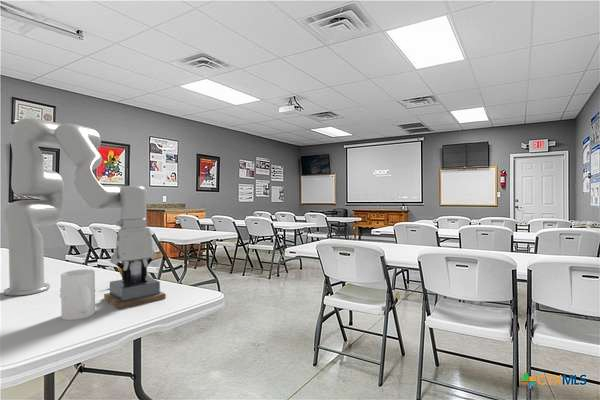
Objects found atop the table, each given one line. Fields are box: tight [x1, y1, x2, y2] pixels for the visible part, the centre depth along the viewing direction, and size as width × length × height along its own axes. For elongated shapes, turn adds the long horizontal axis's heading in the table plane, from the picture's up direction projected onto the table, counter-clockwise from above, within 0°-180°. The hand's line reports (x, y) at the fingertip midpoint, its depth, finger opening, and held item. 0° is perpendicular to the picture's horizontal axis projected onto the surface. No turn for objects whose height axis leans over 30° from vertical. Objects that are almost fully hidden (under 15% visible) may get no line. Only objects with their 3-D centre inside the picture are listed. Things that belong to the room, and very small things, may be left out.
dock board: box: [103, 290, 167, 310], centre depth 112 cm, size 14×14×2 cm
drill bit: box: [116, 267, 122, 277], centre depth 129 cm, size 5×5×10 cm
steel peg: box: [127, 259, 142, 285], centre depth 111 cm, size 4×4×9 cm
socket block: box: [109, 276, 161, 302], centre depth 112 cm, size 11×11×4 cm
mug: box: [59, 268, 96, 321], centre depth 95 cm, size 8×12×12 cm
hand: (134, 280), depth 112 cm, fingers closed on steel peg, 4 cm apart
